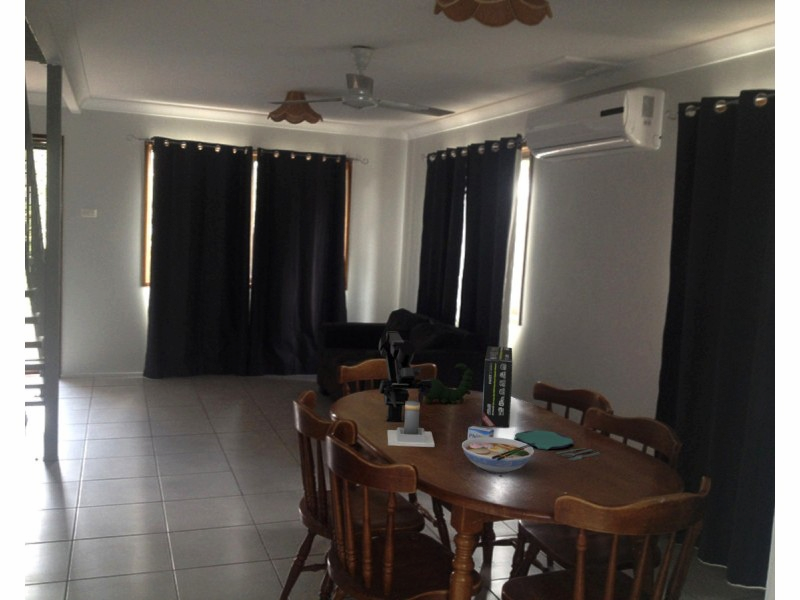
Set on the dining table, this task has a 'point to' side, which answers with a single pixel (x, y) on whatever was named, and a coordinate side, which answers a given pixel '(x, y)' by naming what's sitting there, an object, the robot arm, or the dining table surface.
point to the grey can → (411, 417)
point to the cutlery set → (551, 442)
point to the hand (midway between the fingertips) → (408, 406)
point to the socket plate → (410, 438)
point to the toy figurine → (450, 394)
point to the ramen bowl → (497, 453)
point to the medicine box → (479, 432)
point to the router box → (497, 387)
